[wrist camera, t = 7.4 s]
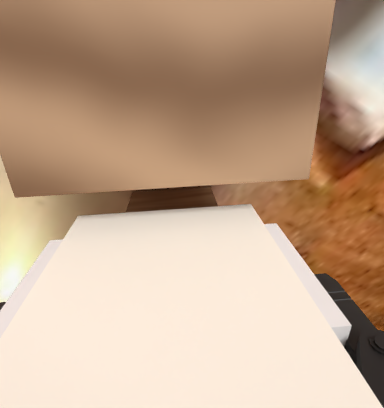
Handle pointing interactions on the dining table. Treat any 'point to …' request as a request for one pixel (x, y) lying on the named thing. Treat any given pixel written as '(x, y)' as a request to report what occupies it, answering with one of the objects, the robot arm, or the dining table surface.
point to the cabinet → (159, 95)
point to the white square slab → (174, 321)
